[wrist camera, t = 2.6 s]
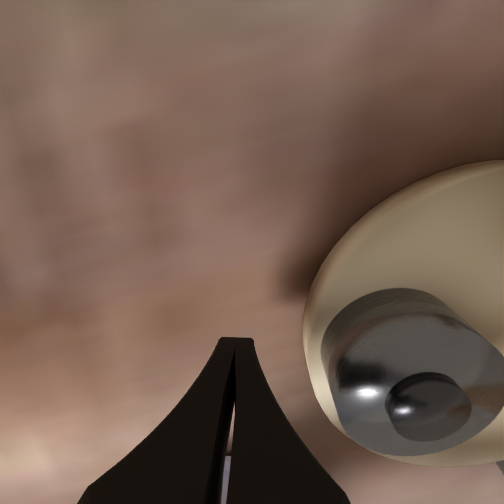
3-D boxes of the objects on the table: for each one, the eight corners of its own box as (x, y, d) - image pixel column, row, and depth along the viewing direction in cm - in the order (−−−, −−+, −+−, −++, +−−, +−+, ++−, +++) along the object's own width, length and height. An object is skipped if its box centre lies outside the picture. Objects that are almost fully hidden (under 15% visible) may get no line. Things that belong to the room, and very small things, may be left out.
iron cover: (436, 398, 14) (490, 475, 11) (313, 395, 14) (330, 470, 11) (476, 289, 12) (558, 346, 9) (329, 285, 12) (357, 340, 9)
